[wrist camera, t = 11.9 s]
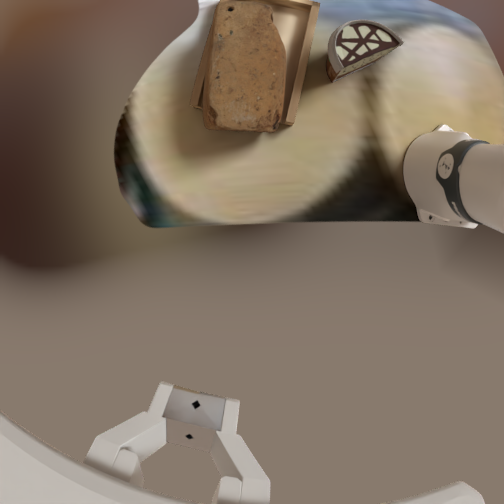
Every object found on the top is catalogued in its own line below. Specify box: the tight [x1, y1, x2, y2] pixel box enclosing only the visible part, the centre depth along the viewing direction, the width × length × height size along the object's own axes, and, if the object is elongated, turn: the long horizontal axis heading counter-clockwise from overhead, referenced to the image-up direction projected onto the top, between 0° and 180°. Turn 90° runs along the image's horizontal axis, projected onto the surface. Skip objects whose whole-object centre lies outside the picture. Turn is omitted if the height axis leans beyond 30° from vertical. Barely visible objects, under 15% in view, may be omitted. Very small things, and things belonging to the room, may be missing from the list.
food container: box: [326, 20, 404, 83], centre depth 30 cm, size 12×6×10 cm, turn 124°
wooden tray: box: [190, 0, 320, 126], centre depth 34 cm, size 15×22×4 cm
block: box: [203, 0, 286, 132], centre depth 32 cm, size 11×8×20 cm
